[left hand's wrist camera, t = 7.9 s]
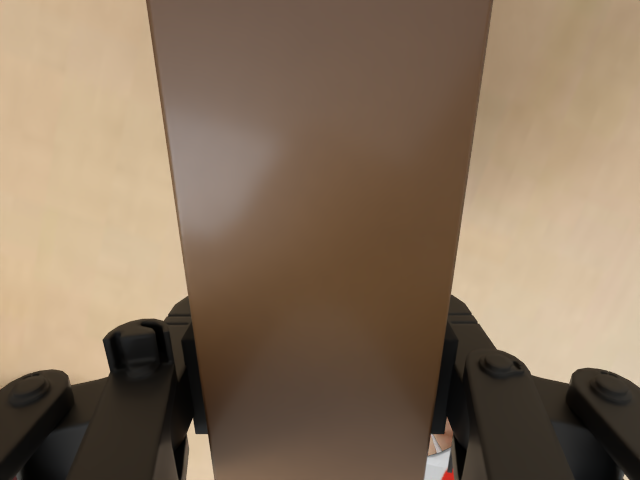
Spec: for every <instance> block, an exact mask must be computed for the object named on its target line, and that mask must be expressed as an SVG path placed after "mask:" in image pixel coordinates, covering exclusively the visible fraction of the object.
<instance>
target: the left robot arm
mask: <svg viewBox="0 0 640 480" xmlns="http://www.w3.org/2000/svg"><path fill="white" fill-rule="evenodd" d="M103 343H104V347H105V351H106V356H107V360H108V364H109V368H110V374H109V376H108V377H106V378H102V379H99V380H94V381H89V382H85V383H80V384H75V385H71V384H70V381H69V377H68V375H67V374H65V373H64V372H63V371H59V370H53V369H52V370H43V371H37V372H33V373H30V374H27V375H24V376H22V377H20V378H18V379H16V380H14V381H12V382H10V383H9V384H8V385H6V386H5V387H3V388H2V389H1V390H0V480H13V478H14V477H15V476H16V477H17V480H186V474H187V465H188V455H189V445H188V439H187V431H188V429H189V426H190V424H191V421H192V419H193V420H194V427H195V433H196V434H208V430H207V423H206V416H205V409H204V402H203V395H202V388H201V381H200V374H199V367H198V360H197V353H196V346H195V339H194V332H193V325H192V318H191V311H190V304H189V297H188V296H187V297H186V298H184V299H183V300H181V301H180V302H178V303H177V304H175V306H174V307H173V308H172V310H171V311H170V313H169V314H168V317H166V319H165V320H164V321H161V320H157V319H140V320H135V321H130V322H128V323H125V324H123V325H120V326H118V327H117V328H115V329H113V330H112V331H110V332H109V333H108V334H107V335H106V336H105V338H104V339H103ZM447 417H448V420H449V422H450V425H451V428H452V430H453V439H452V445H451V451H450V456H449V462H448V469H447V472H448V473H452V470H453V473H454V480H624V479H623V476H624V474H625V475H626V476H627V477H628V479H629V480H640V388H639V387H638V386H636V385H635V384H634V383H632V382H631V381H629V380H627V379H625V378H623V377H621V376H619V375H617V374H615V373H612V372H610V371H609V372H608V371H606V370H602V369H594V368H583V369H578V370H576V371H575V372H574V373H573V374H572V376H571V380H570V383H569V384H567V383H563V382H558V381H553V380H548V379H544V378H540V377H536V376H533V375H531V373H530V371H529V370H528V368H527V367H526V365H525V364H524V363H523V362H521V361H520V360H519V359H517V358H516V357H515V356H513V355H510V354H508V353H506V352H504V351H500V350H497V349H496V348H495V346H494V345H493V343H492V342H491V340H490V339H489V338H488V336H487V335H486V333H485V332H484V330H483V329H482V327H481V326H480V325H479V324H478V323H477V320H476V319H475V317H474V316H473V315H472V313H471V312H470V310H469V309H468V307H467V306H466V305H465V303H463V302H462V301H460V300H459V299H457V298H456V297H454V296H453V295H451V296H450V303H449V310H448V317H447V324H446V331H445V338H444V345H443V352H442V359H441V366H440V373H439V380H438V387H437V394H436V401H435V408H434V414H433V421H432V428H431V434H444V431H445V425H446V419H447Z"/></svg>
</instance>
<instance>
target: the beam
mask: <svg viewBox="0 0 640 480" xmlns="http://www.w3.org/2000/svg"><path fill="white" fill-rule="evenodd" d="M146 3H147V10H148V17H149V24H150V31H151V38H152V45H153V52H154V59H155V66H156V73H157V80H158V87H159V94H160V101H161V108H162V115H163V122H164V129H165V136H166V143H167V150H168V157H169V164H170V171H171V178H172V185H173V192H174V199H175V206H176V213H177V220H178V227H179V234H180V241H181V248H182V255H183V262H184V269H185V276H186V283H187V290H188V297H189V304H190V311H191V318H192V325H193V332H194V339H195V346H196V353H197V360H198V367H199V374H200V381H201V388H202V395H203V402H204V409H205V416H206V423H207V430H208V437H209V444H210V451H211V458H212V465H213V472H214V479H215V480H424V477H425V470H426V463H427V456H428V449H429V442H430V435H431V428H432V421H433V414H434V408H435V401H436V394H437V387H438V380H439V373H440V366H441V359H442V352H443V345H444V338H445V331H446V324H447V317H448V310H449V303H450V296H451V289H452V282H453V275H454V268H455V262H456V255H457V248H458V241H459V234H460V227H461V220H462V213H463V206H464V199H465V192H466V185H467V178H468V171H469V164H470V157H471V150H472V143H473V136H474V129H475V122H476V116H477V109H478V102H479V95H480V88H481V81H482V74H483V67H484V60H485V53H486V46H487V39H488V32H489V25H490V18H491V11H492V4H493V0H146Z"/></svg>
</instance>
